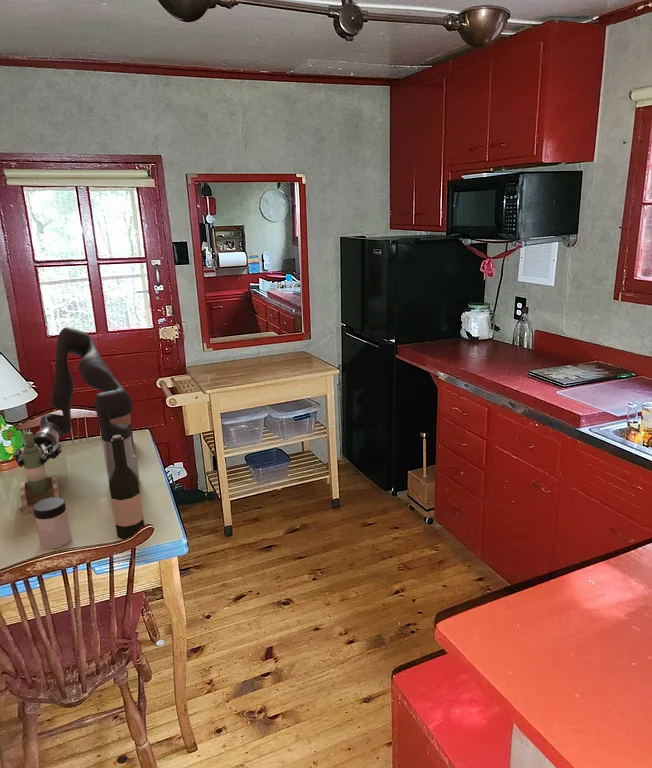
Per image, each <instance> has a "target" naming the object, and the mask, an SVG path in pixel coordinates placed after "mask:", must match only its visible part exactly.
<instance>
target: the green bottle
mask: <svg viewBox="0 0 652 768" xmlns="http://www.w3.org/2000/svg"><path fill="white" fill-rule="evenodd" d="M22 434H23V440H24V445H23V447H22V448H23V450H24V451H22V458H23V463H24V465H23V468H24V473H25V478H26V481H27V482H28V487H29V491H30V494H31V495H40V494H43V493H45V492H47V491H48V490H49V486H48V481H47V477H48V476H47V471H46V465H45V464H44V465H41V462H40V458H41V456H42V450H41V448H39V447H38V445H37V444H35V443H34V438H33V437H34V434H33V432H32V431H26V432H24V433H22Z"/></svg>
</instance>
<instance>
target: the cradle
mask: <svg viewBox="0 0 652 768" xmlns="http://www.w3.org/2000/svg"><path fill="white" fill-rule="evenodd" d="M47 481H48V486H49V490H48V491H47V492H45V493H43V494H40V495H31V494H30V491H29V487H28V482H27V480H26V481H22V482H20V483H19V484H20V486H19V488H20V491H19V492H20V495H19V496H20V501H21V505H22V509H23V515H24V516H26V515H25V514H27V515H31V514H34V511H33V506H34V505H35V504H36V503H37V502H39V501H41V500H43V499H47V498H52V497H60V492H59V487H58V482H57V477H56V475H51V476H47ZM30 513H31V514H30Z"/></svg>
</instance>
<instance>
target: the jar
mask: <svg viewBox="0 0 652 768" xmlns="http://www.w3.org/2000/svg"><path fill="white" fill-rule="evenodd" d="M33 511H34V513H33V516H34V519H35V524H36V525H35V526H36V528H37V529H36V530H37V534H38V538H39V539H38V540H39V543H40V546H41V549H42V550H55V549H60V548H62V547H63V546H65V545H67V544H68V543H70V542H71V541H73V538H72V533H71V527H70V522H69V516H68V511H67V507H66V502H65V499H64V498H62V497H60V496H59V497H52V498H47V499H43V500H41V501H39V502H37V503H36V504H35V505H34V506H33Z"/></svg>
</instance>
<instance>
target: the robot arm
mask: <svg viewBox="0 0 652 768" xmlns="http://www.w3.org/2000/svg"><path fill="white" fill-rule="evenodd" d="M68 354H72V355H75V356H78V357H81V359H80V361H79V364H78V372H79V374H80V376H81V378H82V379H83V381H84V383H85V384H86V385H88V387H91V388H93V389H95V390H97V391H100V392H99V393H97V394H95V396H94V406H95V412H96V417H97V420H98V425H99V426H98V427H99V431H100V437H101V441H102V448H103V455H104V461H105V466H106V467H105V468H106V473H107V481H109V479H110V477H111V475H112V473H113V471H114V469H115V462H114V456H113V449H112V443H111V439H113V438H112V436H114V435H121V437H123V441H124V447H125V454H126V461H127V465H128V466H129V467H130V468H131V469H132V470H133V471H134V472H135V473H136V475H137V477H138V483H139V482H140V481H141V479H140V473H139V472H140V471H139V465H138V458H137V455H135V454H134V449H133V447H134V446H133V444H132V440H131V433H130V428H129V427H128V426H126V425H123V424H114V423H111V421H110V420H111V419H114V418H119V417H123V416H126V415H128V414H130V415H131V413H132V411H133V402H132V399H131V396H130V394H129V393H128V391H127V390H126V389H125V388H124V387H123V386H122V384H121V383H120V382H119V381H118V380H117V378H115V376H114V374H113V373H112V371H111V369H110V368H109V366H108V365H107V363H106V362H105V360H104V359H103V358H102V356H101V354H100V352H99V351H98V349H97V347H96V345H95V342H94V340H93V337H92V336H91V335H90V334H89V333H88V332H85V331H82V330H79V329H76V328H72V327H69V326H68V327H67V326H66V327H63V328H62V329H61V330H60V332H59V334H58V336H57V341H56V352H55V366H54V369H55V370H54V380H53V387H52V391H51V395H50V401H49V405H50V407H52V408H55V409H58V410H60V412H62V414H54V413H46V414H43V415H42V417H41V419H40V422H39V427H40V429H39V430H38V431H37V432H36V433H35V434H34V435H33V438H34V443H35V444H37V445H38V447H39V448H41V450H42V456H41V458H40V462H41V465H45V463H47V462H48V461H49V460H50V459H56V458H57V457H58V456H59V455H60V454H61V453H62V452H63V450H62V445H61V444H60V443H59V440H60V438H61V437H62V436H66V435H68V434H69V433H70V432H71V431H72V428H73V427H72V422H73V421H72V415H71V408H72V407H71V406H72V400H73V395H74V390H75V386H74V385H75V384H74V380H73V377H72V375H71V371H70V368H69V364H68ZM22 451H24V449H21V448H16V449H15V452H14V458H15V463H17V465H18V467H19V468H22V467H23V468H24V463H23V458H22Z"/></svg>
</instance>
